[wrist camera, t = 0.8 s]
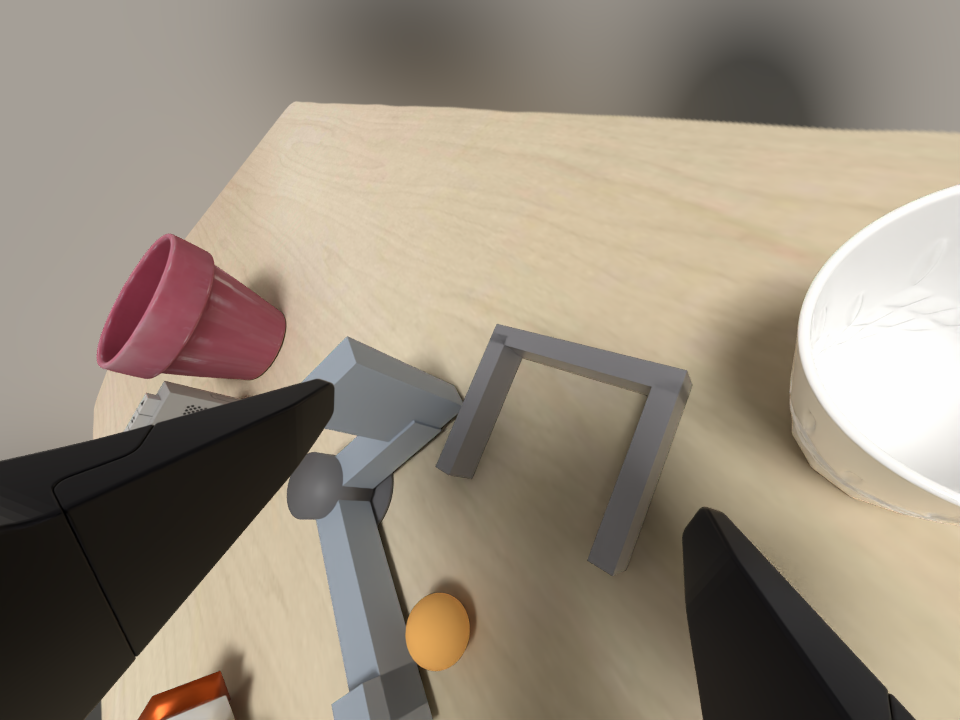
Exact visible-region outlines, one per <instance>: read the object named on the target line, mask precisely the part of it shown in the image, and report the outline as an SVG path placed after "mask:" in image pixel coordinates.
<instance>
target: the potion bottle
mask: <svg viewBox="0 0 960 720" xmlns="http://www.w3.org/2000/svg"><path fill="white" fill-rule="evenodd" d="M230 699H231V698H230V695H229V693H228V690H227V687H226V684H225V682H224V679H223V676H222V674H221V671H218V672H216V673H213V674H210V675H208V676H205V677H202V678H200V679H197V680H194V681H192V682H189V683H186V684H184V685H181V686H178V687H175V688H173V689H170V690H167V691H165V692H162V693H159V694H157V695H154V696H152V697H151V699H150V701H149V702H148V704H147V706H146V707H145V709H144V710H143V712H142V714H141V715H140V717H139V718H138V720H235V718H234V716H233V713H232V710H231V708H230V705H229V701H230Z"/></svg>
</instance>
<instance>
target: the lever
mask: <svg viewBox="0 0 960 720" xmlns="http://www.w3.org/2000/svg"><path fill="white" fill-rule="evenodd" d="M313 379H322V380H325V381H328V382H331V383H333V385H334V387H335V396H334V412H333V415H332V417H331V419H330V421H329V422H328V424H327V425H326V426H325V429H329V430H334V431H339V432H343V433H348V434H352V435H357V437H356V438H355V439H354V440H353V441H352V442H351V443H349V444H348V445H347V446H346V447H345V448H344V449H343V450H342V451H341V452H340V453H338V454H337V455H330V454H324V453H317V452H311V453H308V454H307V455H306V456H305V458H304V459H303V460H302V462H301V463H300V465H299V466H298V467H297V469H296V470H295V471H294V472H293V474H292V475H291V476H290V479H289V483H288V488H287V503H288V507H289V510H290V512H291V514H292V515H293V516H294V517H295V518H297V519H316V522H317V527H318V532H319V537H320V543H321V548H322V553H323V558H324V563H325V568H326V574H327V579H328V584H329V589H330V594H331V599H332V605H333V610H334V615H335V620H336V625H337V630H338V636H339V641H340V646H341V651H342V656H343V661H344V667H345V672H346V677H347V682H348V687H349V693H348V694H346V695H345V696H343V697H342V698H340V699H339V700H337V701H336V702H334V703H333V704H332V710H333V716H334V720H433V719H432V715H431V712H430V708H429V705H428V701H427V698H426V694H425V691H424V687H423V684H422V681H421V677H420V674H419V670H418V667H417V663H416V662H415V661H414V660H413V658H412V657H411V655H410V653H409V651H408V648H407V644H406V637H405V632H406V625H405V622H404V618H403V615H402V611H401V608H400V604H399V601H398V597H397V594H396V590H395V587H394V584H393V580H392V577H391V573H390V570H389V566H388V563H387V559H386V556H385V552H384V549H383V545H382V542H381V539H380V535H379V532H378V528H377V525H376V521H375V518H374V514H373V511H372V507H371V504H370V500H371V497H372V493H373V488H375V487H376V486H377V485H378V484H379V483H381V482H382V481H383V480H384V479H385V478H386V477H388V476H389V475H390V474H391V473H392V472H393V471H395V470H396V469H397V468H398V467H399V466H401V465H402V464H403V463H404V462H405V461H406V460H408V459H409V458H410V457H411V456H412V455H413V454H415V453H416V452H417V451H418V450H419V449H420V448H422V447H423V446H424V445H425V444H426V443H428V442H429V441H430V440H431V439H432V438H433V437H435V436H436V435H437V434H438V433H439V432H440V431H442V430H441V427H443V426H444V425H445V424H446V423H447V422H448V421H450V420H451V419H452V418H453V417H454V416H456V415H457V414H458V413H459V411H460V408H461V406H462V404H463V402H462V400H461V398H460V396H459V394H458V392H457V390H456V388H455V386H454V385H452V384H449V383H447V382H445V381H443V380H441V379H439V378H436V377H434V376H432V375H430V374H428V373H426V372H424V371H421V370H419V369H417V368H415V367H413V366H411V365H408V364H406V363H404V362H402V361H400V360H398V359H395V358H393V357H391V356H389V355H387V354H385V353H382V352H380V351H378V350H376V349H374V348H372V347H369V346H367V345H365V344H363V343H361V342H359V341H356V340H354V339H352V338H350V337H348V336H347V337H346V338H345V339H344V340H343V341H342V342H341V343H340V344H339V345H338V346H337V347H336V348H335V349H334V350H333V351H332V352H331V353H330V354H329V355H328V356H327V357H326V358H325V359H324V360H323V361H322V362H321V363H320V364H319V365H318V366H317V367H316V368H315V369H314V370H313V371H312V372H311V373H310V374H309V375H308V376H307V377H306V378H305V379H304V380H303V381H302V382H306V381H309V380H313ZM302 382H301V383H302Z"/></svg>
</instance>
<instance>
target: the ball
mask: <svg viewBox="0 0 960 720" xmlns="http://www.w3.org/2000/svg"><path fill="white" fill-rule="evenodd" d="M469 635H470V624H469V619H468V615H467V613H466V610H465V608H464V607H463V605H462V604H461V603H460V602H459V601H458V600H457V599H456V598H455V597H453V596H451V595H449V594H446V593H433V594H430V595H428V596H426V597H424V598H423V599H421V600H420V601H419V602H418V603H417V604H416V605H415V606H414V608H413V609H412V611H411V613H410V615H409V617H408V620H407V624H406V632H405V637H406V644H407V648H408V651H409V653H410V655H411V657H412V658H413V660H414V661H415V662H416V663H417V664H418V665H419V666H421V667H422V668H425V669H427V670H430V671H441V670H444V669H447V668H449V667H451V666H452V665H454V664H455V663H456V662H457V661H458V660H459V659H460V658H461V656H462V655H463V653H464V651H465V649H466V647H467V644H468V640H469Z"/></svg>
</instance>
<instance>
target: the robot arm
mask: <svg viewBox="0 0 960 720" xmlns="http://www.w3.org/2000/svg"><path fill="white" fill-rule="evenodd" d="M334 396H335V387H334V385H333V383H331V382H328V381H325V380H322V379H313V380H309V381H306V382H302V383H299V384H295V385H291V386H288V387H284V388H281V389H277V390H273V391H270V392H266V393H263V394H259V395H256V396H252V397H248V398H245V399H241V400H237V401H234V402H230V403H227V404H223V405H219V406H216V407H212V408H209V409H205V410H201V411H198V412H194V413H191V414H187V415H183V416H180V417H176V418H173V419H169V420H165V421H162V422H158V423H156V424H155V425H153V424H151V425H147V426H144V427H140V428H136V429H133V430H129V431H125V432H121V433H118V434H114V435H110V436H106V437H102V438H99V439H95V440H90V441H86V442H82V443H78V444H73V445H69V446H65V447H60V448H56V449H52V450H47V451H43V452H38V453H34V454H29V455H25V456H21V457H16V458H12V459H7V460H2V461H0V720H84V719H85V718H86V717H87V716H88V715H89V714H90V712H91V711H92V710H93V709H94V708H95V706H96V705H97V704H98V703H99V702H100V701H101V699H102V698H103V697H104V696H105V695H106V694H107V692H108V691H109V690H110V689H111V688H112V686H113V685H114V684H115V683H116V682H117V681H118V679H119V678H120V677H121V676H122V675H123V673H124V672H125V671H126V670H127V669H128V668H129V666H130V665H131V664H132V663H133V662H134V660H135V659H136V658H135V657H136V656H138V655H139V654H140V653H141V652H142V651H143V649H144V648H145V647H146V646H147V645H148V644H149V642H150V641H151V640H152V639H153V638H154V636H155V635H156V634H157V633H158V632H159V631H160V629H161V628H162V627H163V626H164V625H165V623H166V622H167V621H168V620H169V619H170V618H171V616H172V615H173V614H174V613H175V612H176V610H177V609H178V608H179V607H180V606H181V605H182V603H183V602H184V601H185V600H186V599H187V597H188V596H189V595H190V594H191V593H192V592H193V590H194V589H195V588H196V587H197V586H198V585H199V583H200V582H201V581H202V580H203V579H204V577H205V576H206V575H207V574H208V573H209V572H210V570H211V569H212V568H213V567H214V566H215V564H216V563H217V562H218V561H219V560H220V559H221V557H222V556H223V555H224V554H225V553H226V551H227V550H228V549H229V548H230V547H231V546H232V544H233V543H234V542H235V541H236V540H237V538H238V537H239V536H240V535H241V534H242V533H243V531H244V530H245V529H246V528H247V527H248V526H249V524H250V523H251V522H252V521H253V520H254V518H255V517H256V516H257V515H258V514H259V513H260V511H261V510H262V509H263V508H264V507H265V505H266V504H267V503H268V502H269V501H270V500H271V498H272V497H273V496H274V495H275V494H276V492H277V491H278V490H279V489H280V488H281V487H282V485H283V484H284V483H285V482H286V481H287V479H288V478H289V477H290V476H291V475H292V474H293V472H294V471H295V470H296V469H297V467H298V466H299V465H300V463H301V462H302V460H303V459H304V458H305V456H306V455H307V453H308V452H309V450H310V449H311V447H312V446H313V444H314V443H315V441H316V440H317V438H318V437H319V435H320V434H321V432H322V431H323V429H324V428H325V426H326V425H327V424H328V422H329V421H330V419H331V417H332V415H333V412H334ZM682 544H683V565H684V586H685V603H686V612H687V620H688V626H689V632H690V639H691V645H692V652H693V658H694V664H695V671H696V677H697V683H698V690H699V696H700V703H701V709H702V715H703V720H916V719H915V718H914V717H913V716H912V715H911V714H910V713H909V712H908V711H907V710H906V709H905V707H904V706H903V705H902V704H901V703H900V702H899V701H898V700H897V699H896V698H895V697H894V696H893V695H892V694H889V693H888V690H887V688H886V687H885V686H884V685H883V684H882V683H881V682H880V681H879V680H878V678H877V677H876V676H875V675H874V674H873V673H872V672H871V671H870V670H869V669H868V668H867V667H866V666H865V665H864V663H863V662H862V661H861V660H860V659H859V658H858V657H857V656H856V655H855V654H854V653H853V652H852V651H851V649H850V648H849V647H848V646H847V645H846V644H845V643H844V642H843V641H842V640H841V639H840V638H839V637H838V635H837V634H836V633H835V632H834V631H833V630H832V629H831V628H830V627H829V626H828V625H827V624H826V623H825V621H824V620H823V619H822V618H821V617H820V616H819V615H818V614H817V613H816V612H815V611H814V610H813V609H812V607H811V606H810V605H809V604H808V603H807V602H806V601H805V600H804V599H803V598H802V597H801V596H800V595H799V593H798V592H797V591H796V590H795V589H794V588H793V587H792V586H791V585H790V584H789V583H788V582H787V581H786V579H785V578H784V577H783V576H782V575H781V574H780V573H779V572H778V571H777V570H776V569H775V568H774V567H773V565H772V564H771V563H770V562H769V561H768V560H767V559H766V558H765V557H764V556H763V555H762V554H761V553H760V551H759V550H758V549H757V548H756V547H755V546H754V545H753V544H752V543H751V542H750V541H749V540H748V539H747V537H746V536H745V535H744V534H743V533H742V532H741V531H740V530H739V529H738V528H737V527H736V526H735V525H734V523H733V522H732V521H731V520H730V519H729V518H728V517H727V516H726V515H725V514H724V513H722V512H720V511H717V510H714V509H711V508H708V507H702V508H700V509H699V510H698V512H697V513H696V514H695V516H694V517H693V518H692V520H691V521H690V522H689V524H688V525H687V527H686V528H685V530H684V532H683V537H682Z"/></svg>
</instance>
